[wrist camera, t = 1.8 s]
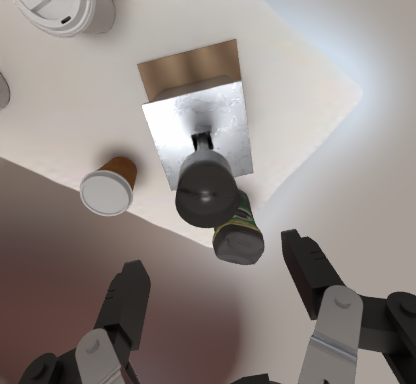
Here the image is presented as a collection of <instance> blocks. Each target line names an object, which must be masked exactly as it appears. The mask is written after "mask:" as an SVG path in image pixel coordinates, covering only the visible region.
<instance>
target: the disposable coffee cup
mask: <svg viewBox="0 0 416 384" xmlns="http://www.w3.org/2000/svg"><path fill="white" fill-rule="evenodd" d="M136 174H137V169H136V166H135V165H134V163H133V162H132V161H131V160H129V159H127V158H124V157H116V158H114V159H112V160H111V161H109V162H108V163H107V164H105V165H104V166H102V167H101V168H100V169H98V170H97V171H94V172H91V173H89V174H88V175H86V176H85V177H84V178H83V180H82V181H81V184H80V197H81V200H82V202H83V203H84V204H85V206H86V207H87V208H88V209H89V210H91V211H92V212H94V213H96V214H99V215H103V216H114V215H118V214H120V213H122V212H124V211H125V210H127V209H128V208H129V207H130V205H131V204H132V201H133V188H134V183H135V178H136Z"/></svg>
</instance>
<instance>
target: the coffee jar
mask: <svg viewBox="0 0 416 384" xmlns="http://www.w3.org/2000/svg"><path fill="white" fill-rule="evenodd" d="M238 192H239V195H240V205H239V208H238V211H237V212H236V214H235V215H234V217H233V218H232V219H231V220H229V221H228V222H226V223H225V224H223V225H221V226H218V227H214V231H215V233H214V236H213V241H212V243H213V247H214V251H215V254H216V256H217V257H218V258H219V259H221V260H224V261H227V262H231V263H236V264H241V265H251V264H255V263H256V262H257V261H258V259H259V258H260V257H261V255H262V253H263V252H264V240H263V235H262V233H261V231H260V230H259V229H258V227H257V226H256V224H255V221H254V218H253V215H252V211H251V207H250V203H249V199H248V197H247V195H246V194H245V193H243V192H241V191H239V190H238Z"/></svg>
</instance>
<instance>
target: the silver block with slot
mask: <svg viewBox="0 0 416 384" xmlns="http://www.w3.org/2000/svg"><path fill="white" fill-rule="evenodd" d="M142 108H143V110H144V113H145V116H146V119H147V122H148V125H149V128H150V131H151V133H152V136H153V139H154V142H155V145H156V148H157V151H158V153H159V156H160V159H161V162H162V165H163V168H164V171H165V174H166V176H167V179H168V182H169V185H170V188H171V191H173V190H177V185H178V178H179V171H180V167H181V164H182V162H183V161H184V159H185V158H186V157H187V156H189V155H190V154H192V153H194V152H196V151H198V150H197V149H196V150H195V146H194V142H193V138H192V135H193V134H197V133H202V132H206V131H210V133H211V138H212V142H213V146H209V150H212V151H215V152H218V153H220V154H221V155H223V156H224V157H225V158H226V159H227V161H228V162H229V165H230V167H231V170H232V173H233V176H234V177H237V176H242V175H247V174H251V173H253V165H252V157H251V150H250V142H249V134H248V127H247V119H246V111H245V104H244V96H243V88H242V81H240V80H238V81H235V80H233V79H231V78H229V77H227V76H225V75H221V76H217V77H213V78H209V79H205V80H201V81H197V82H193V83H189V84H185V85H181V86H177V87H173V88H169V89H165V90H162V91H161V92H159V93H158V94H157V95H156V96H155V97H154V98H153V99H152V100H151V101H150V102H148V103H144V104H143V105H142Z"/></svg>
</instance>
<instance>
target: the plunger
mask: <svg viewBox="0 0 416 384" xmlns="http://www.w3.org/2000/svg"><path fill="white" fill-rule="evenodd" d="M192 138H193V142H194V146H195V150H196V149H197V150H198V151H196V152H194V153H192V154H190V155H189V156H187V157H186V158H185V159H184V161H183V162H182V164H181V167H180V171H179V178H178V185H177V192H176V199H175V204H176V209H177V211H178V213H179V215H180V216H181V217H182V219H184V220H185V221H186V222H187V223H189V224H191V225H193V226H196V227H200V228H213V227H218V226H221V225H223V224H225V223H226V222H228V221H229V220H231V219H232V218H233V217H234V215H235V214H236V212H237V211H238V208H239V205H240V195H239V192H238V189H237V186H236V182H235V179H234V176H233V173H232V170H231V167H230V165H229V162H228V161H227V159H226V158H225V157H224V156H223V155H221V154H220V153H218V152H215V151H212V150H209V146H213V142H212V138H211V133H210V131H206V132H202V133H197V134H193V135H192Z"/></svg>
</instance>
